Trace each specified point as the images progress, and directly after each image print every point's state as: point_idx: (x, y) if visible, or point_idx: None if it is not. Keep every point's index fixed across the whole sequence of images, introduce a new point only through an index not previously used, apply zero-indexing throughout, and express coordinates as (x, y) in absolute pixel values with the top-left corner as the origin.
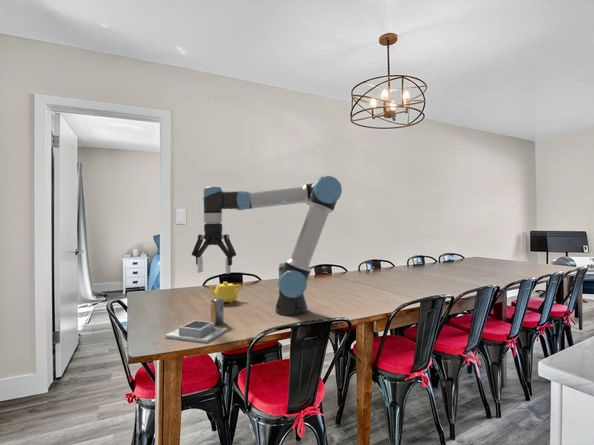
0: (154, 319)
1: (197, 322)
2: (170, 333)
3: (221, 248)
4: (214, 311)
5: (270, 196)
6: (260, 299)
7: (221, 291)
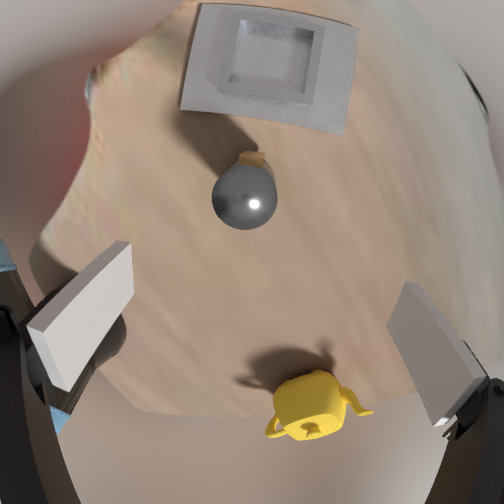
0: (463, 203)
1: (291, 92)
2: (350, 38)
3: (28, 486)
4: (245, 153)
5: None
6: (216, 407)
7: (318, 398)
